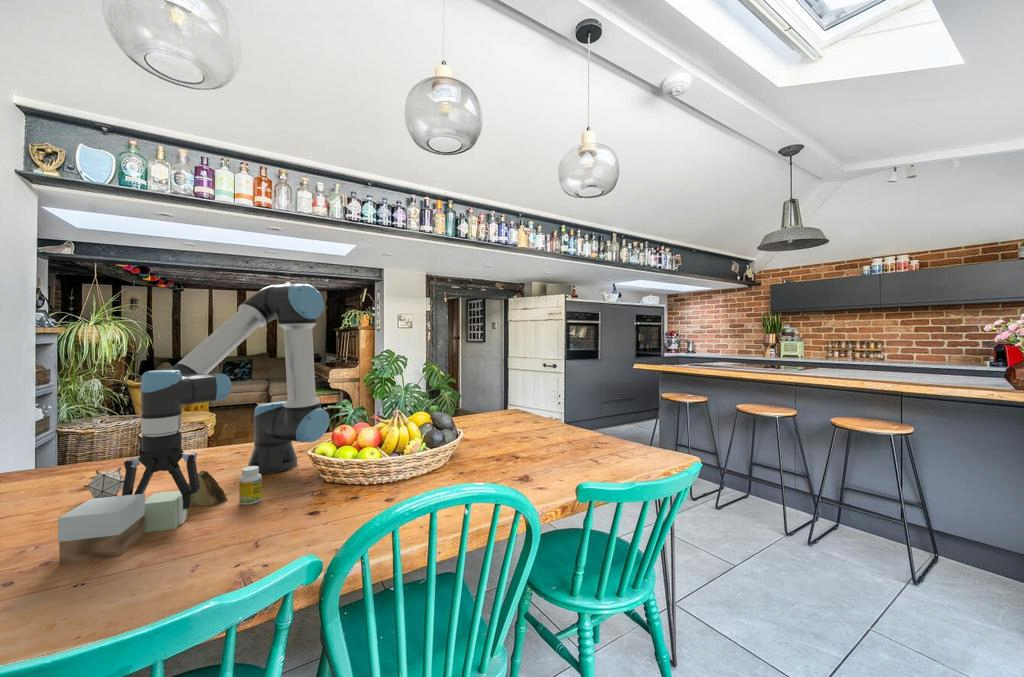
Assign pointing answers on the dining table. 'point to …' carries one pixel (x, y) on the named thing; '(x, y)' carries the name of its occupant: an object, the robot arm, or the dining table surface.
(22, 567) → the dining table surface
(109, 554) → the tower base block
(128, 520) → the tower top block
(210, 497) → the rock
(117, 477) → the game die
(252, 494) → the supplement bottle
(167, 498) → the green cube
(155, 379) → the robot arm
